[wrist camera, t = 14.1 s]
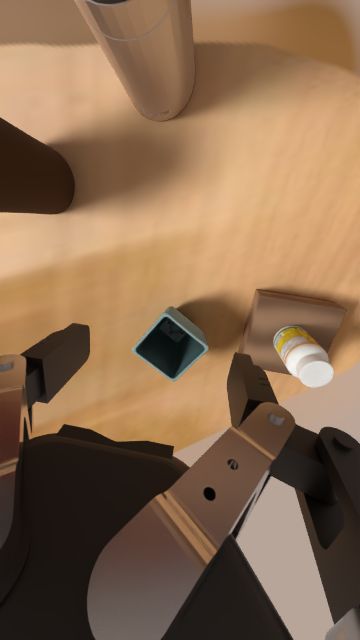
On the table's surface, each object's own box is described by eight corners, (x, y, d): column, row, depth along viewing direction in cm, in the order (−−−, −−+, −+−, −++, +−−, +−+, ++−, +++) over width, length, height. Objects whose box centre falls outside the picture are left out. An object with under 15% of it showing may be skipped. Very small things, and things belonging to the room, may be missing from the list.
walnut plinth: (255, 289, 38) (261, 295, 34) (333, 302, 37) (347, 309, 34) (237, 354, 43) (240, 365, 39) (305, 366, 42) (315, 379, 39)
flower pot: (209, 325, 42) (210, 348, 33) (179, 355, 45) (173, 383, 36) (173, 294, 40) (165, 311, 32) (145, 327, 43) (130, 350, 35)
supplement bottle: (268, 331, 36) (288, 363, 28) (302, 319, 35) (334, 349, 26) (278, 358, 38) (300, 396, 29) (311, 347, 37) (344, 384, 28)
